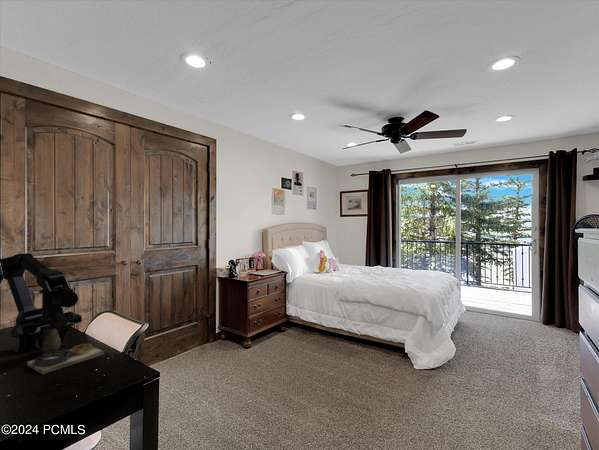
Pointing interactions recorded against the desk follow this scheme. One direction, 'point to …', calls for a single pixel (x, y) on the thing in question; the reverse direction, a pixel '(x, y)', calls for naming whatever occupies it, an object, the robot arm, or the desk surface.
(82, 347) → the narrow collar
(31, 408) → the desk surface
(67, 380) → the desk surface
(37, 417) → the desk surface
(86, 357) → the fitting board
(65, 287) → the robot arm
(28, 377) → the desk surface
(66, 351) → the collar
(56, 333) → the decorative egg
